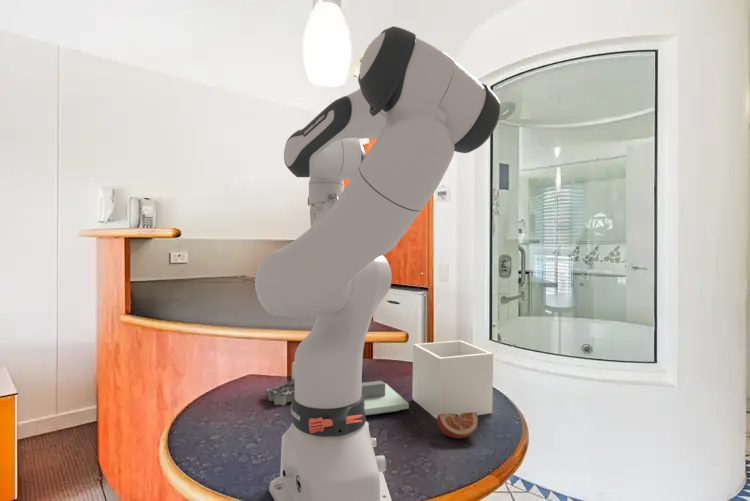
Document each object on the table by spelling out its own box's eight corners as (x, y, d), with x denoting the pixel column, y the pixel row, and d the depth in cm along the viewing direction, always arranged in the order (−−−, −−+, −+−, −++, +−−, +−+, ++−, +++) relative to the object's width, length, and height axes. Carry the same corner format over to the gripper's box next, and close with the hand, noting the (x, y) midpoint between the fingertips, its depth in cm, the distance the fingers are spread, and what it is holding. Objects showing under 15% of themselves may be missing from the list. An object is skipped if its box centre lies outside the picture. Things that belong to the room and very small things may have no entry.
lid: (408, 412, 99) (408, 390, 99) (346, 421, 94) (347, 398, 94) (385, 391, 113) (385, 371, 113) (330, 397, 108) (330, 377, 108)
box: (492, 413, 99) (493, 353, 99) (439, 421, 95) (439, 358, 94) (460, 392, 112) (461, 340, 112) (412, 399, 108) (413, 344, 107)
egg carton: (303, 390, 114) (303, 375, 114) (316, 399, 108) (316, 383, 108) (265, 398, 108) (265, 382, 108) (276, 408, 102) (276, 391, 102)
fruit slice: (470, 428, 91) (470, 405, 91) (484, 443, 84) (484, 418, 84) (433, 431, 89) (433, 408, 89) (444, 446, 83) (444, 421, 83)
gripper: (350, 193, 97) (350, 253, 98) (329, 200, 117) (328, 251, 117) (323, 191, 95) (323, 253, 95) (306, 199, 114) (306, 251, 115)
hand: (326, 252), depth 106 cm, fingers open, 8 cm apart
